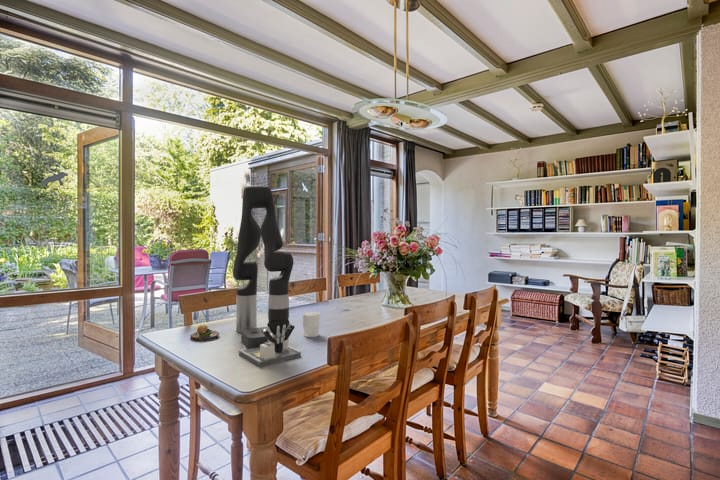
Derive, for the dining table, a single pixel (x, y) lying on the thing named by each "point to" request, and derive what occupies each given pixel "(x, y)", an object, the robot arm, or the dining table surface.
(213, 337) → the wood slice table decoration
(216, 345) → the dining table surface
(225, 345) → the dining table surface
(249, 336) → the streaming box
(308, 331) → the white cup
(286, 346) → the tab
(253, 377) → the dining table surface
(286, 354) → the switch board
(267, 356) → the cream striped block
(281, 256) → the robot arm
